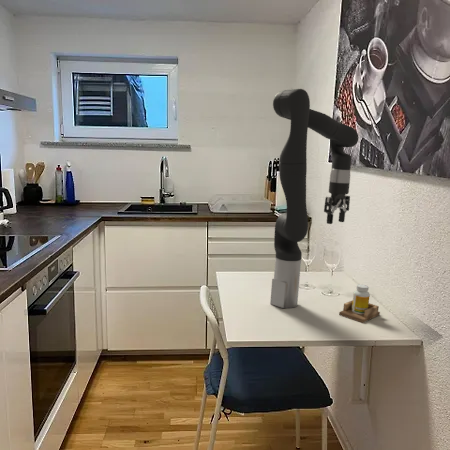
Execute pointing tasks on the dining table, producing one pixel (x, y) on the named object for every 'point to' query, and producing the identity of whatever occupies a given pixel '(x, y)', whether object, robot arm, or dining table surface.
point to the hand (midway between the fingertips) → (335, 222)
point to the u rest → (368, 314)
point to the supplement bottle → (360, 299)
